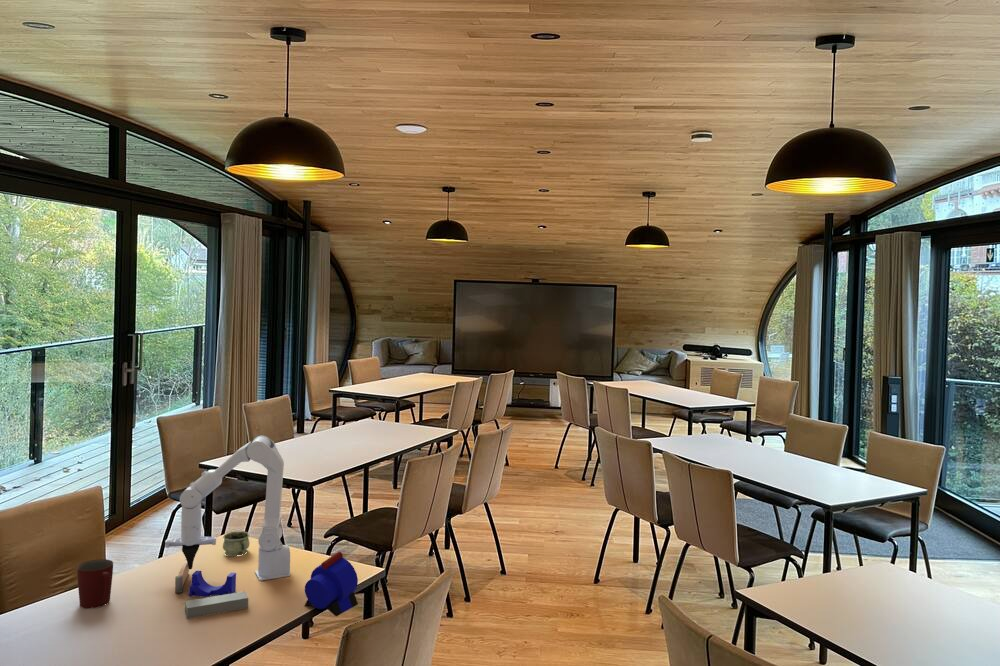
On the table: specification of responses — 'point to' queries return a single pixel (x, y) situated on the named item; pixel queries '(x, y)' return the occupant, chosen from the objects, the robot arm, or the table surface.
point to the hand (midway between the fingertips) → (190, 568)
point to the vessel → (236, 543)
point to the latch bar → (181, 577)
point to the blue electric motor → (333, 585)
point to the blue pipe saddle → (206, 590)
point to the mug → (95, 582)
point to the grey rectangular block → (216, 604)
